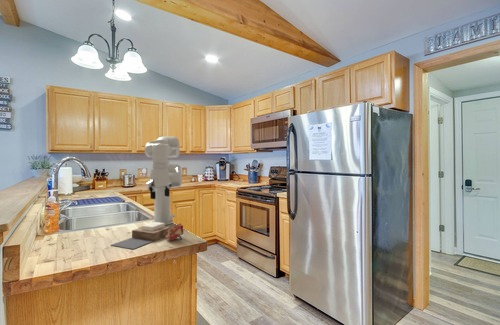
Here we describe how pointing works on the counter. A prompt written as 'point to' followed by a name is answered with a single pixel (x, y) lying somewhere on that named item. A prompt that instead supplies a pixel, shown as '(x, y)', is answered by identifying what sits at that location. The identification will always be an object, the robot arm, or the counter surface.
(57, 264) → the counter surface
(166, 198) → the robot arm
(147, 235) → the block
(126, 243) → the mat
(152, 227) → the tile
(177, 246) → the counter surface
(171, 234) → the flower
